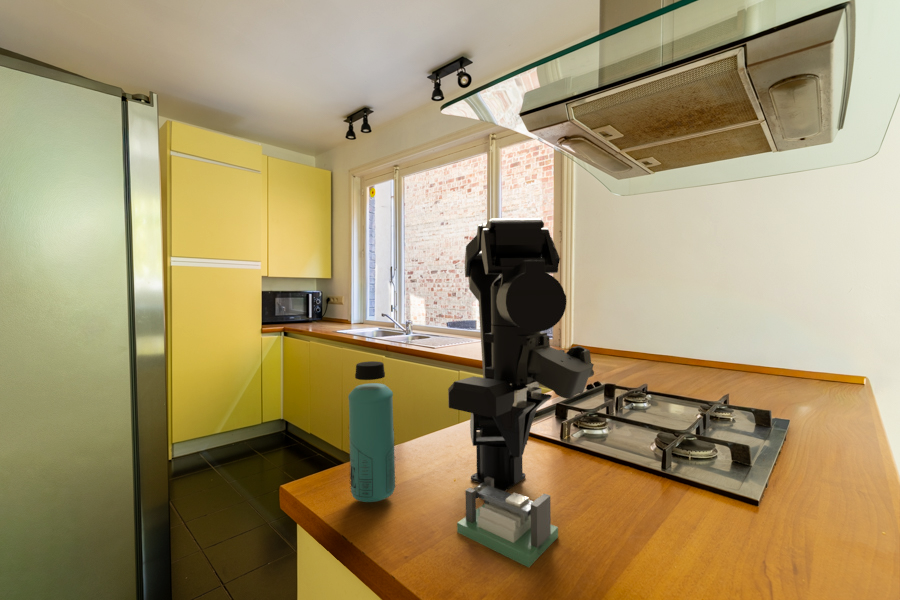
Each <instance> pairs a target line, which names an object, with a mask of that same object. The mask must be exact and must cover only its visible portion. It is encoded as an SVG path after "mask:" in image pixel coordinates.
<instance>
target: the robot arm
mask: <svg viewBox="0 0 900 600" xmlns="http://www.w3.org/2000/svg"><path fill="white" fill-rule="evenodd" d="M464 253H465V255H464V278H468V287H469V290H470V292H471V293H472V294H473V296H474V297H475V298H476V300H477V301H478V314H479V328H480V329H479V330H480V346H481V362H482V363H481V364H482V377H480V376H470V377H466V378H463V379H459V380H455V381H454V382H453V383H452V384H451V385H450V386H449V387H448V388H447V391H448V392H447V395H448V397H447V398H448V409H453V410H457V411H461V412H464V413H465V412H466V413H470V419H469V426H470V427H469V428H470V429H469V430H470V439H471V443H472V446H473V447H476V450H475V451H476V473H473V474H472V475H470V480H471V481H473V482H476V483H478V484H482V483H483V482H484V478H486V477H491V478H494V488H497V489H500V490H502V491H505V492H508V490H510V489H512V487H514V486H515V485H517V484H518V483H520V482H521V481H523V479H526V473H524V472H523V455H524V452H525V448H526V445H528V441H529V436H530V432H531V428H532V424H533V421H534V419H535V416H536V413H537V410H538V409H539V408H540V407H542V406H543V405H545V403H546V402H548V401H550V400H551V399H552V395H551V394H548V393H542V387H540V385H542V386H544V387H545V388H547V389H549V390H551V391H553V392H554V393H555V395H556V396H559V397H561V398H563V399H567V400H570V399H573V398H574V397H575V396H577V395H578V394H583V393H584V391H585V389H586V386H587V384H588V383H587V382H588V380H589V378H591V377H593V376H594V375H595V371H594V369H593V368H594V364H595V363H593V362H592V358H591V350H590V349H587V348H586V347H583V346H581V345H576V346H573V347H571V348H570V349H568V350H567V351H566V350H565V349H557V348H553V347H552V346H551V343H550V336H549V335H548V332H544V331H548V330H550V329H552V328H554V327H555V326H556V325H557V324H558V323H559V322H560V321H561V319H562V317H563V316H564V314H565V312H566V308H567V295H566V293H565V291H564V287H563V286H562V285H561V283H560V281H559V280H558V279H556V278H555V276H553V275H552V274H556V273H558V272H559V264H560V260H561V258H560V256H559V252H558V250H557V248H556V245H555V243H554V240H553V238H552V237H551V233H550V231H549V228H548V227H545V222H544V220H542V218H538V217H537V218H531V217H530V218H526V217H525V218H489V220H488V221H487V222H482V223H481V224H478V225H477V232H476V235H475V236H474V237H473V238H472V239H471V240H470V241H469V243H467V245H466V246H465V251H464ZM565 351H566V352H565Z"/></svg>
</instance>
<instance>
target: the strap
mask: <svg viewBox="0 0 900 600" xmlns="http://www.w3.org/2000/svg"><path fill="white" fill-rule="evenodd" d="M473 489H474V490H476V500H477V499H481V500H483V501H484V502H485V501H488V502H491V503H493V504H496V505H498V506H501V507H504V508H506V509H509V510H511V511H514V512H517V513H519V514H522V515H524V516H527V517H528V516H529V515H530V514H531V503H532V502H533V500H531V499H530V498H529V497H528V496H526V495H523V494H520V493H517V492H515V491H514V492H513V493H510V492H508V491H502V490H500V489H497V488H494V487H491V486H488V484H487V483H485V482H483V483H482V484H481V483H479V484H478V485H477V486H475V487H474V488H473Z"/></svg>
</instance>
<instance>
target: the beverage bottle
mask: <svg viewBox="0 0 900 600" xmlns="http://www.w3.org/2000/svg"><path fill="white" fill-rule="evenodd" d="M385 375H386V372H385V365H384V363H383V362H381V361H362V362H358V363H356V365H355V374H354V377H355V379H356V380H360V381H372V380H373V381H374V380H380V379H383V378H385V377H386V376H385ZM347 396H348V398H347V399H348V409H349V410H348V411H349V412H348V414H349V417H348V418H349V424H348V425H349V426H348V432H349V433H348V434H349V437H348V439H349V454H348V456H349V459H350V460H349V480H350V482H349V485H350V487H349V488H350V493H351V496H352V497H353V498H354V499H355V500H356V501H359V502H365V503H373V502H380V501H382V500H386V499H387V498H389V497H391V496H392V495H393V493H394V492H395V488H396V487H397V485H396V474H395V473H396V471H395V470H397V468H396V456H395V451H396V449H395V447H396V445H395V444H396V443H395V441H396V439H395V429H394V407H393V406H394V405H393V404H394V403H393V401H394V400H393V398H394V397H393V396H394V392H393V391H392V389H390V387H388V386H387V385H386V384H385V383H377V382H376V383H375V382H374V383H363V384H359V385H356V386H355V387H354V388H353V390H351V391H350V392H349V393H348V395H347Z"/></svg>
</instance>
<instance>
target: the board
mask: <svg viewBox="0 0 900 600" xmlns="http://www.w3.org/2000/svg"><path fill="white" fill-rule="evenodd" d="M484 482H485V483H487V484H488V486H491V487H494V478H491V477H486V478H484ZM532 501H533V500H532ZM551 514H552V513H551V495H550V494H547V493H542V494H541V495H540V496H539V497H537V498H536V499H535V500H534V501H533V502H532V503H531V514H530V515H529V516H528V517H527V516H524V515H522V514H519V513H517V512H514V511H511V510H509V509H506V508H504V507H501V506H498V505H496V504H493V503H491V502H488V501H485V500H484V503H483V504H482V505H481V506H480V507H479V506H478V508H477V499H476V490H474V488H471V487H468V488H466V489H465V517H463V518H461V520H459V521H457V523H456V525H457V526H456V527H457V528H456V532H457V533H458V534H460V535H461V536H464V537H466V538H467V539H469V540H472V541H474V542H476V543H478V544H480V545H482V546H485V548H488V549H490V550H493V552H496V553H498V554H500V555H502V556H503V557H507V558H508V559H511V560H513V561H514V562H517V563H518V564H520V565H523V566H525V567H526V568H530V567H531V566H532V565H534V563H535V562H536V561H537V560H538V559H539V557H541V555H542V554H543V553H544V552H546V550H547V549H549V547H550V546H551V545H552V544H553V543H554V542H555V541H556V540H557V539H558V537H559V527H558V526H557V525H554V524H552V523H551V520H552V519H551V516H552V515H551Z"/></svg>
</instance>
